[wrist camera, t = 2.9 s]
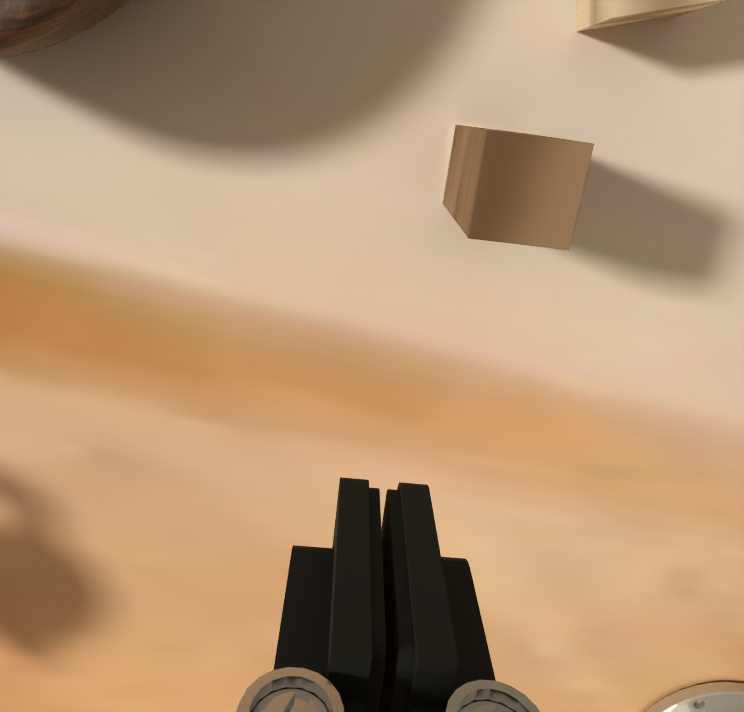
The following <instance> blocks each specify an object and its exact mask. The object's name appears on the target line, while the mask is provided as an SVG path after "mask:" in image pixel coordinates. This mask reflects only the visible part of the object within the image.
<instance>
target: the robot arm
mask: <svg viewBox="0 0 744 712" xmlns="http://www.w3.org/2000/svg"><path fill="white" fill-rule="evenodd" d="M236 712H540V711H539V710H538V708H537V706H536V705H535V704H534V703H533V702H532V701H531V700H530V699H529V698H528V697H526V696H525V695H524V694H523V693H521V692H520V691H518V690H516V689H515V688H513V687H512V686H509V685H507V684H504V683H501V682H498V681H496V680H495V676H494V672H493V667H492V663H491V658H490V654H489V650H488V645H487V641H486V636H485V632H484V628H483V623H482V619H481V615H480V610H479V606H478V601H477V597H476V593H475V588H474V584H473V579H472V575H471V571H470V567H469V564H468V561H467V560H466V559H462V558H449V557H441V555H440V549H439V543H438V538H437V532H436V526H435V520H434V514H433V508H432V502H431V497H430V491H429V486H428V485H423V484H411V483H399V485H398V489H397V490H390V489H388V490H387V494H386V501H385V508H384V515H383V522H382V529H381V514H380V492H379V489H378V488H369V480H363V479H351V478H340V483H339V492H338V501H337V511H336V520H335V529H334V539H333V548H319V547H306V546H293V547H292V553H291V559H290V566H289V573H288V579H287V586H286V592H285V599H284V606H283V612H282V619H281V625H280V632H279V639H278V645H277V652H276V658H275V665H274V670H272V671H271V672H269V673H267V674H265V675H263V676H261V677H259V678H258V679H257V680H256V681H255V682H254V683H253V684H251V685H250V686H249V687H248V688H247V690H246V692H245V694H244V695H243V697H242V699H241V701H240V703H239V705H238V708H237V711H236ZM646 712H744V683H735V682H712V683H706V684H700V685H695V686H692V687H688V688H685V689H682V690H679V691H677V692H675V693H673V694H671V695H669V696H667V697H665V698H663V699H662V700H660V701H659V702H657V703H656V704H654V705H653V706H651V707H650V708H649V709H648V710H647V711H646Z"/></svg>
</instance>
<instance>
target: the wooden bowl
mask: <svg viewBox="0 0 744 712" xmlns="http://www.w3.org/2000/svg"><path fill="white" fill-rule="evenodd" d="M127 1H128V0H0V59H1V58H5V57H10V56H14V55H19V54H23V53H28V52H32V51H36V50H39V49H42V48H44V47H47V46H50V45H53V44H56V43H58V42H61V41H64V40H66V39H69V38H71V37H73V36H75V35H77V34H79V33H81V32H83V31H85V30H87V29H89V28H91V27H93V26H94V25H96V24H97V23H99V22H101V21H102V20H104V19H105V18H107V17H108V16H110V15H111V14H113V13H114V12H115V11H116V10H118V9H119V8H120V7H121V6H122V5H124V4H125V3H126V2H127Z"/></svg>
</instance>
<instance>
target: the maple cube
mask: <svg viewBox="0 0 744 712" xmlns="http://www.w3.org/2000/svg"><path fill="white" fill-rule="evenodd" d="M723 1H726V0H576V32H578V31H584V30H590V29H597V28H603V27H609V26H615V25H622V24H628V23H634V22H640V21H647V20H653V19H659V18H665V17H672V16H678V15H682V14H685V13H688V12H692V11H695V10H698V9H701V8H704V7H707V6H711V5H714V4H717V3H720V2H723Z"/></svg>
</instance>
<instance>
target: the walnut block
mask: <svg viewBox="0 0 744 712" xmlns="http://www.w3.org/2000/svg"><path fill="white" fill-rule="evenodd" d="M593 146H594V144H592V143H586V142H579V141H572V140H565V139H559V138H552V137H545V136H538V135H532V134H524V133H516V132H508V131H500V130H493V129H485V128H477V127H469V126H461V125H455V126H454V133H453V139H452V146H451V152H450V158H449V165H448V171H447V177H446V184H445V190H444V197H443V204H444V206H445V207H446V208H447V210H448V211H449V212H450V214H451V215H452V217H453V218H454V219H455V221H456V222H457V223H458V225H459V226H460V227H461V229H462V230H463V231H464V233H465V234H466V235H467V237H468V238H471V239H479V240H487V241H496V242H504V243H512V244H521V245H529V246H537V247H546V248H554V249H562V250H569V248H570V244H571V239H572V235H573V231H574V227H575V222H576V218H577V214H578V210H579V206H580V201H581V197H582V193H583V189H584V184H585V180H586V176H587V172H588V167H589V163H590V159H591V155H592V151H593Z"/></svg>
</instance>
